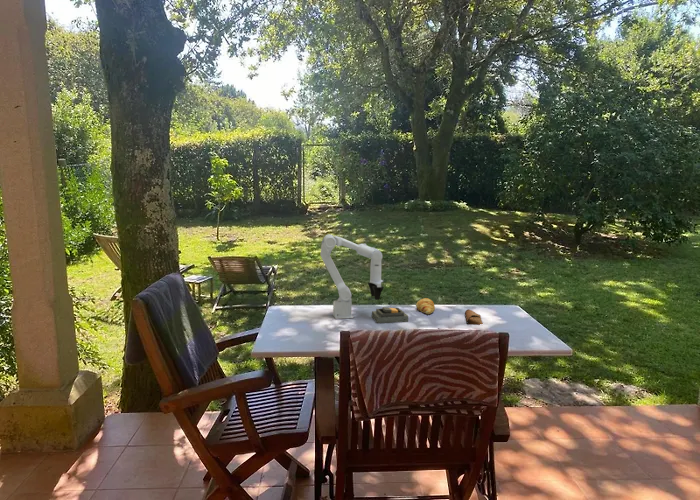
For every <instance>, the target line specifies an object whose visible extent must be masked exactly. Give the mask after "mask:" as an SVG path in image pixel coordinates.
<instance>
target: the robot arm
mask: <svg viewBox="0 0 700 500" xmlns="http://www.w3.org/2000/svg"><path fill="white" fill-rule="evenodd" d="M335 247H337V248H338V247H345V248H348V249H351V250H354V251H355V252H356V254H357V255H360V256H363V257H365V258H367V259H370V267H369V271H370V272H369V274H370V275H369V276H370V278H369V282H368V283H367V284H368V287H369V292H370V296H371V297H374V300H375V301H376V300H378V301H379V300H380V299H381V294H382V292H383V289H384V286H382V283H384V279H382V260H383V257H384V256H383V253H382V252H381V250H380V249H378V248H375V247H374V246H373V247H372V246H369V245H367V243H366V242H363V243H359V244H357V243H354V242H353V241H350V240H348V239H346V238H344V237H341V236H337V235H333V234H331V233H329V234H326V235H324V236H323V239H322V241H321V245H320V253H319V254H320V258H321V260H322V262H323V264H324V265H325V267H326V269H327V272H328V273H329V275H330V277H331V279H332V280H333V282H334V286H335V287H336V289H337V293H338V296H339V297H338V298H337V299H336V300H333V302H332V303H333V304H332V306H333V307H332V311H333V312H332V316H333V318H335V320H337V319H339V320H340V319H343V320H344V319H353V318H354V316H353V314H352V309H353V308H352V307H353V305H352V296H353V295H352V292H351V290H350V287H348V285H346V284H345V282H344V280H343V278H342V276H341V274H340V272H339V270H338V268H337V267H336V266H337V265H335V262H334V260H333V258H332V256H331V254H332V251H333V250H334V248H335Z"/></svg>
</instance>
